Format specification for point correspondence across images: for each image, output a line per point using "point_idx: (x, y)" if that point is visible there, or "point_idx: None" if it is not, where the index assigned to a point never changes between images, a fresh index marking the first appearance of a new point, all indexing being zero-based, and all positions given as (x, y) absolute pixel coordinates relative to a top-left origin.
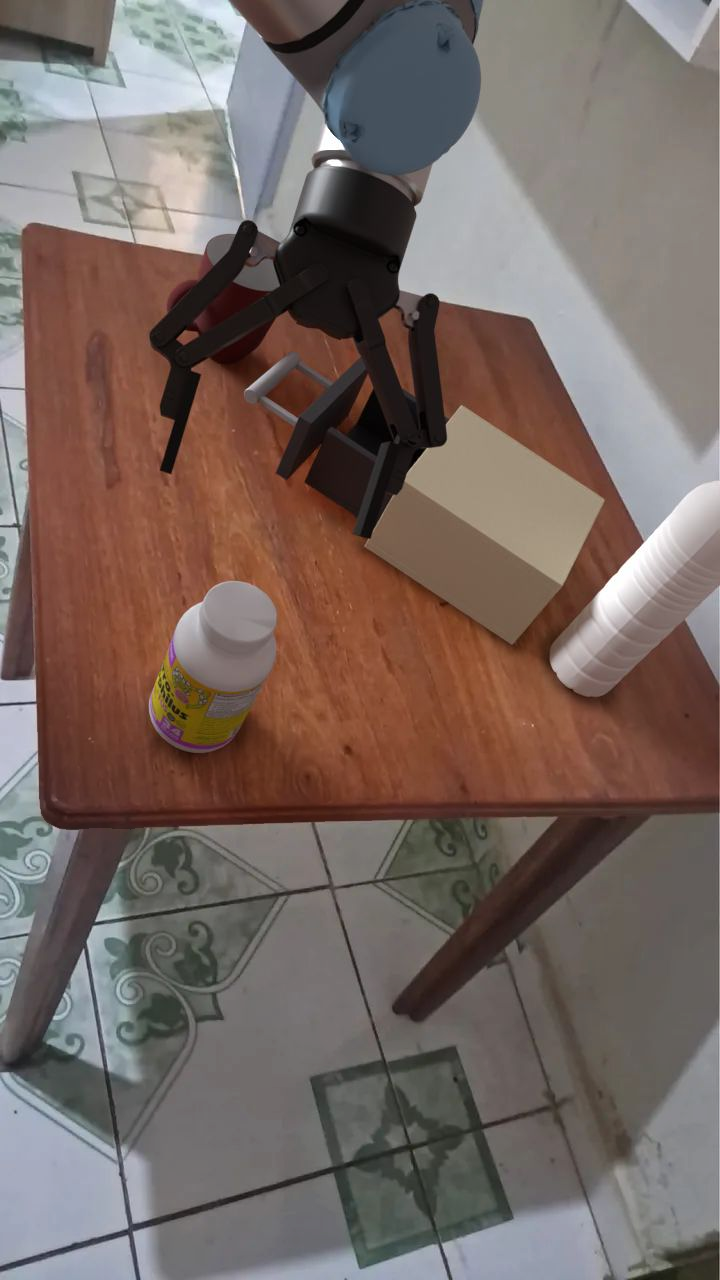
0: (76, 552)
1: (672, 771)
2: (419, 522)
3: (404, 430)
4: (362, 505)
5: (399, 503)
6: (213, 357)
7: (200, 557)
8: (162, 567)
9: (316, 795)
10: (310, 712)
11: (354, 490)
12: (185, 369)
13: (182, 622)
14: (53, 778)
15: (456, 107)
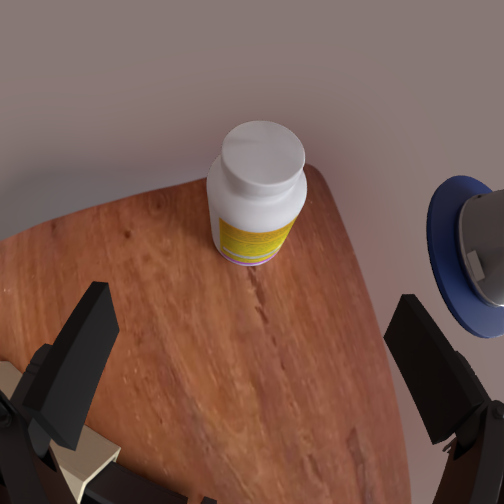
0: (363, 354)
1: None
2: (66, 448)
3: (13, 433)
4: (104, 356)
5: (86, 465)
6: None
7: (268, 393)
8: (298, 369)
9: (153, 194)
10: (155, 259)
11: (137, 489)
12: (479, 410)
13: (305, 183)
14: (322, 175)
15: None
